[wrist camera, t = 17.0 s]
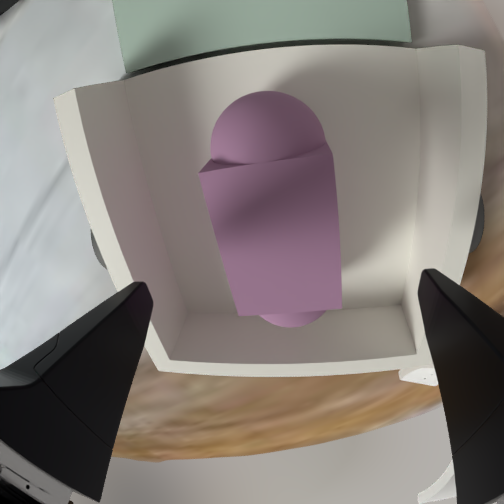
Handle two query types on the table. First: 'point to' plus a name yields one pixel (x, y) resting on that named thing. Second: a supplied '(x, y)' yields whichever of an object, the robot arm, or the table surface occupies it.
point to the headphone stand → (446, 482)
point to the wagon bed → (347, 186)
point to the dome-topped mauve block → (275, 209)
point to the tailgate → (247, 25)
